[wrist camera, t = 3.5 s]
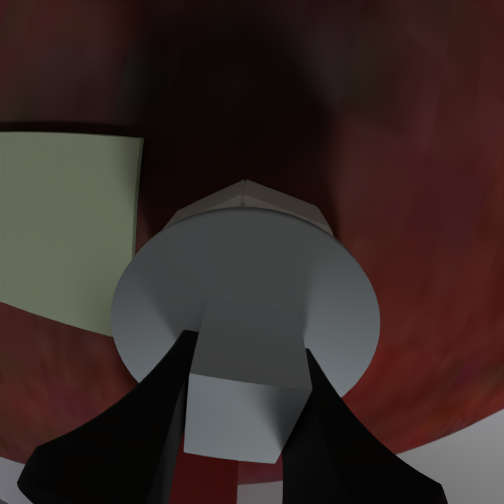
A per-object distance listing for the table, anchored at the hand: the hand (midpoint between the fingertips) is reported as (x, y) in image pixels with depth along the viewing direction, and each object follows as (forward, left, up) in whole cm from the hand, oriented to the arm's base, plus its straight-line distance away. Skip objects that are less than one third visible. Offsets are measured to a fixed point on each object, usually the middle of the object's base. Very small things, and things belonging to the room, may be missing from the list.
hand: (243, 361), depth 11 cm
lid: (0, 0, -1) cm, 1 cm away
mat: (-7, -10, -7) cm, 14 cm away
